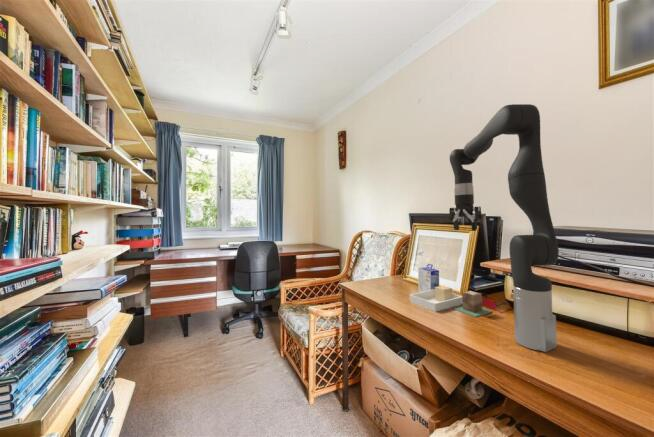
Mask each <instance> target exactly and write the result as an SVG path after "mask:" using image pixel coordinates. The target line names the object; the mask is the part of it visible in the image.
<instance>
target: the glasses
mask: <svg viewBox="0 0 654 437" xmlns="http://www.w3.org/2000/svg"><path fill="white" fill-rule="evenodd" d="M481 294H482V295H484V296H482V306H483V305H484V306H485V307H487V309H489V310H491V311H492V310H493V311H496V310H497V307H499V306H502V305H505V304H507V303H509V302H508V301H505V302H502V303H499V304H497V302H496V301H495V300H494V299H492V298H489V297H487V295H486V293H484V292H481Z"/></svg>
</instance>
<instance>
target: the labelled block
mask: <svg viewBox="0 0 654 437" xmlns="http://www.w3.org/2000/svg"><path fill="white" fill-rule="evenodd" d="M482 295H483V294H482V292H476V291H472V290H468V291H464V292H463V291H462V292H461V296H462V303H463V304H462V306H463V309H464V310H467V311H470V312H473V313H476V312H479V311H482V308H483V304H482V298H483V296H482Z"/></svg>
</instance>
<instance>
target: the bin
mask: <svg viewBox="0 0 654 437" xmlns="http://www.w3.org/2000/svg"><path fill="white" fill-rule="evenodd" d="M409 302H410V303H413V304H415V305H418V306H420V307H422V308H425V309H427V310H430V311H432V312H434V313H435V312H439V311H443V310H447V309H450V308H453V307H454V308H456V307H459V306H463V303H462V295H458V294H454V293H452V299H449V300H446V301H442V302H439V301H436V300H435V289H432V290H428V291H423V292H420V291H418V292H416V293H411V294H409Z"/></svg>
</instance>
